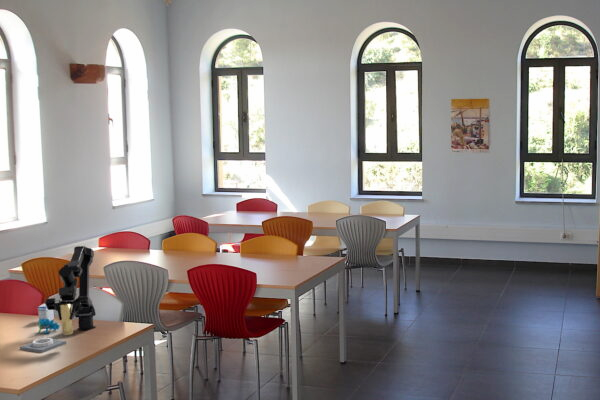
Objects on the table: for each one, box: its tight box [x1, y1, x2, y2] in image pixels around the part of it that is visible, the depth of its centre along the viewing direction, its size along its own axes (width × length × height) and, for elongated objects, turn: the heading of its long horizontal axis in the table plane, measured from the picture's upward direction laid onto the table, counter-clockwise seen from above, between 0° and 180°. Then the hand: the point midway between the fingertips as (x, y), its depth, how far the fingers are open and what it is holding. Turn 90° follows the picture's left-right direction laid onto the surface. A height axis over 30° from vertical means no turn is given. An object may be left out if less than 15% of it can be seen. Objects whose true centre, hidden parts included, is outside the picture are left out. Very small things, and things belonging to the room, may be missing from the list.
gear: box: [37, 318, 60, 335], centre depth 370 cm, size 11×6×10 cm
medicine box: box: [37, 302, 55, 321], centre depth 392 cm, size 8×4×9 cm, turn 172°
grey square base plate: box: [19, 337, 67, 353], centre depth 347 cm, size 14×14×3 cm
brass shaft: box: [60, 303, 74, 336], centre depth 340 cm, size 4×4×13 cm
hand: (65, 319), depth 339 cm, fingers closed on brass shaft, 4 cm apart
